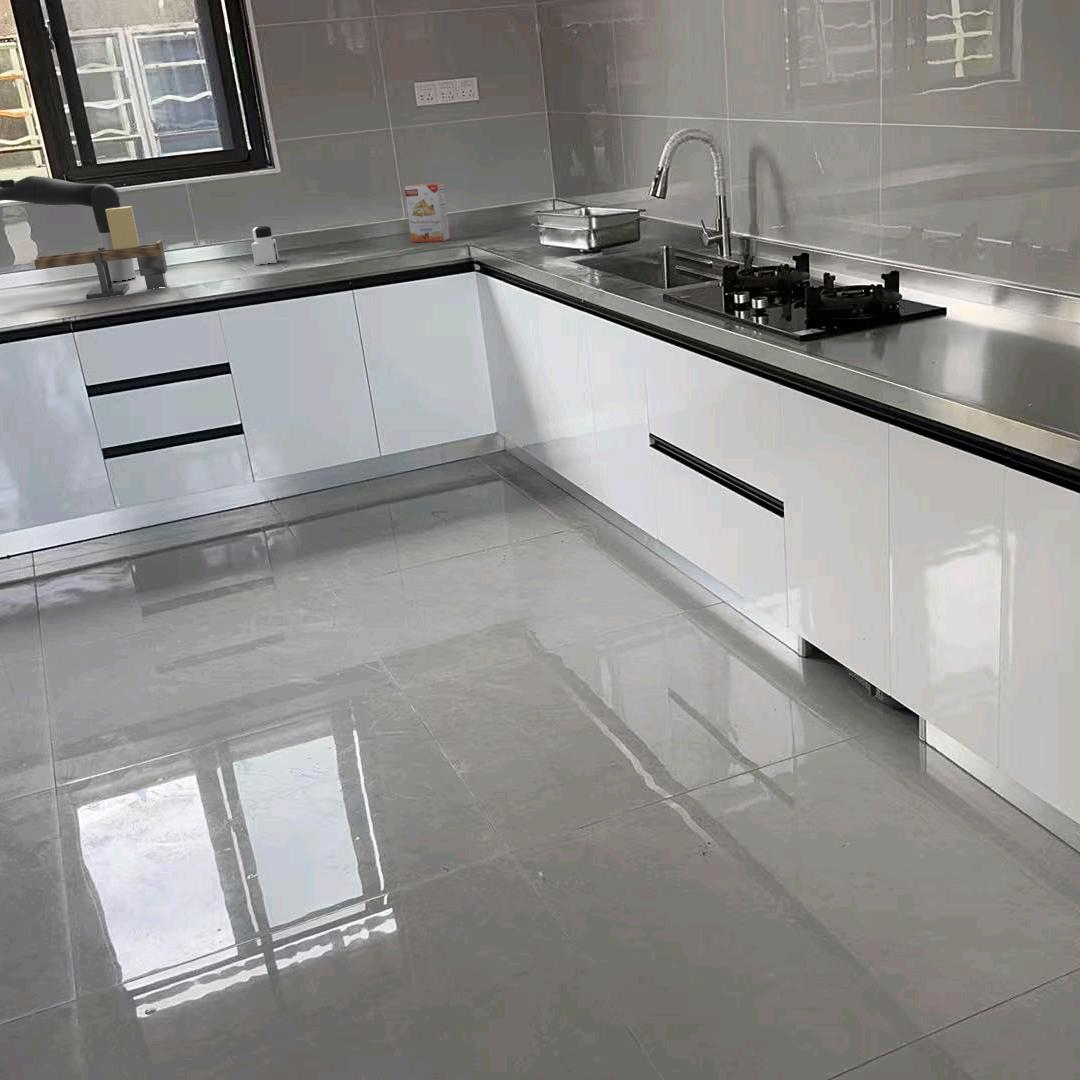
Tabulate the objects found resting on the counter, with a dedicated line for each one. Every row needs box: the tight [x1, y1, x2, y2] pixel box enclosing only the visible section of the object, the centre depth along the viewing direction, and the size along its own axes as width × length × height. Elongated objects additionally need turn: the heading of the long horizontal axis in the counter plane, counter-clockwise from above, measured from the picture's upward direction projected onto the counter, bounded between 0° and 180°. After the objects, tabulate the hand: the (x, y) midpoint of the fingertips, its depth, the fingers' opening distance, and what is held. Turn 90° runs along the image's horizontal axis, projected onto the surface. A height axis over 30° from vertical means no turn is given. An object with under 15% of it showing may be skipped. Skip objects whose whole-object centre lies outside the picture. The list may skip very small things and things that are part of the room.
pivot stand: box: [85, 247, 168, 300], centre depth 405 cm, size 25×16×14 cm, turn 101°
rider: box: [105, 205, 141, 251], centre depth 401 cm, size 8×5×14 cm, turn 103°
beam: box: [34, 239, 168, 277], centre depth 403 cm, size 40×9×10 cm, turn 101°
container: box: [250, 225, 280, 266], centre depth 441 cm, size 8×8×13 cm
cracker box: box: [404, 182, 451, 243], centre depth 454 cm, size 14×6×21 cm, turn 67°
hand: (14, 182), depth 392 cm, fingers closed
